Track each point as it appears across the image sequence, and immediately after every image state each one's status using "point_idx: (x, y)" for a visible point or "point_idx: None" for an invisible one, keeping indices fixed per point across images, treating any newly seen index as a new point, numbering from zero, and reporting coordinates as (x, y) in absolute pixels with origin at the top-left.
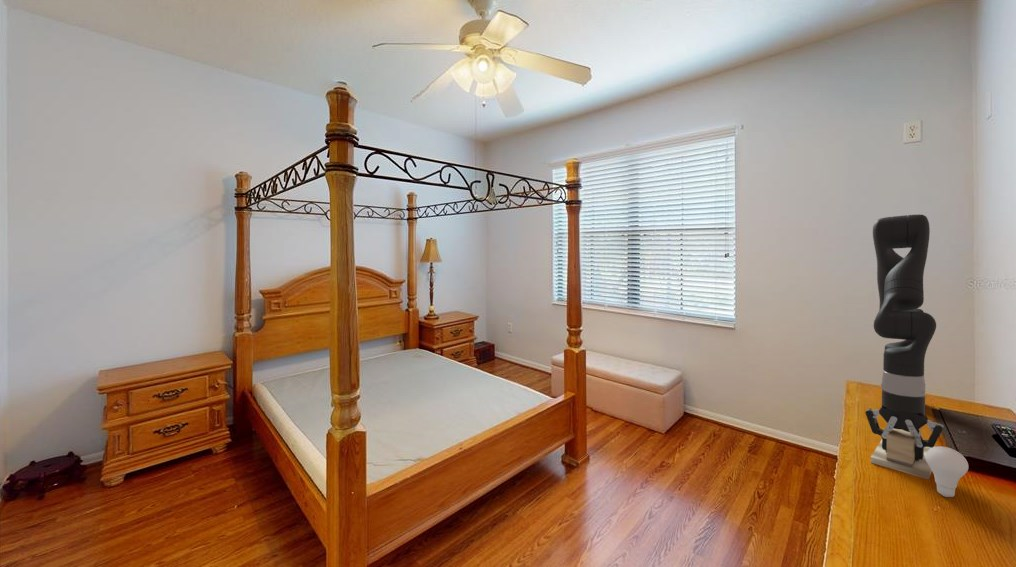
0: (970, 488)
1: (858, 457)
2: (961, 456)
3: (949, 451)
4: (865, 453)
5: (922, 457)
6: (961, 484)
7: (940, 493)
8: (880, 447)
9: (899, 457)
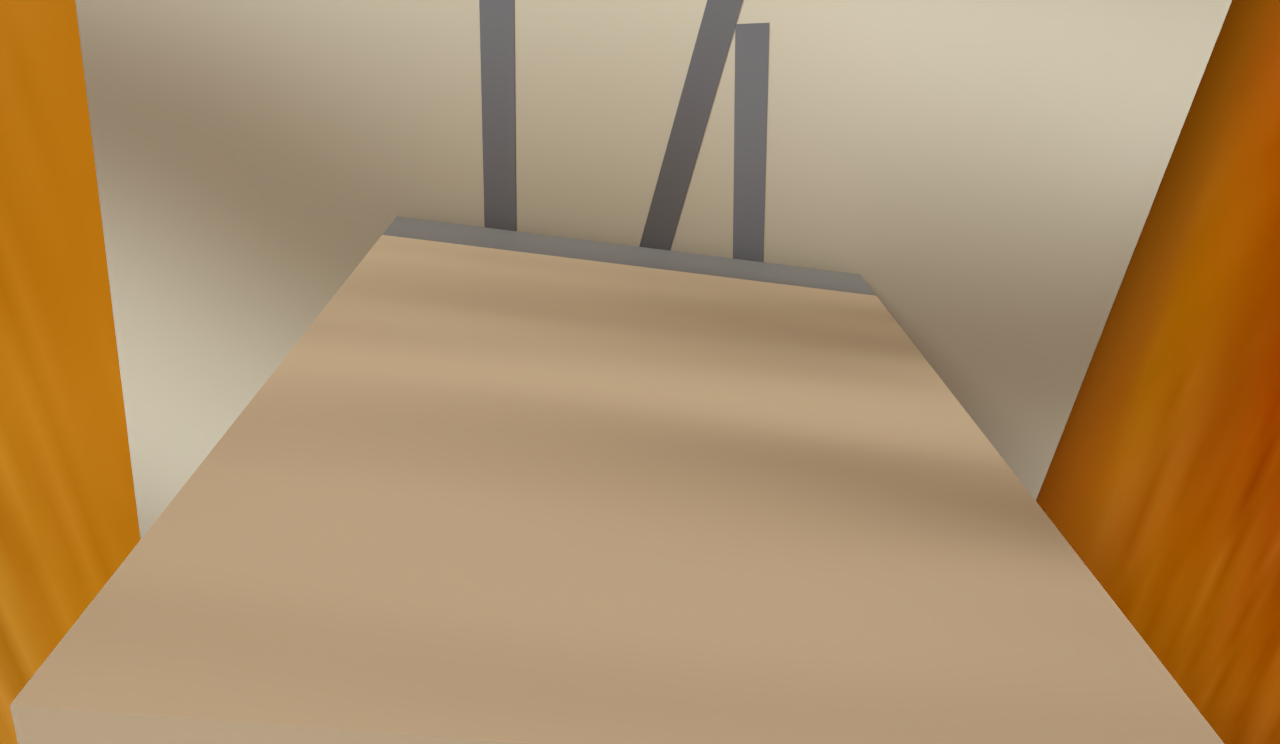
0: (1266, 723)
1: (36, 668)
2: None
3: None
4: (50, 447)
5: None
6: (1207, 681)
7: None
8: (177, 301)
9: None
